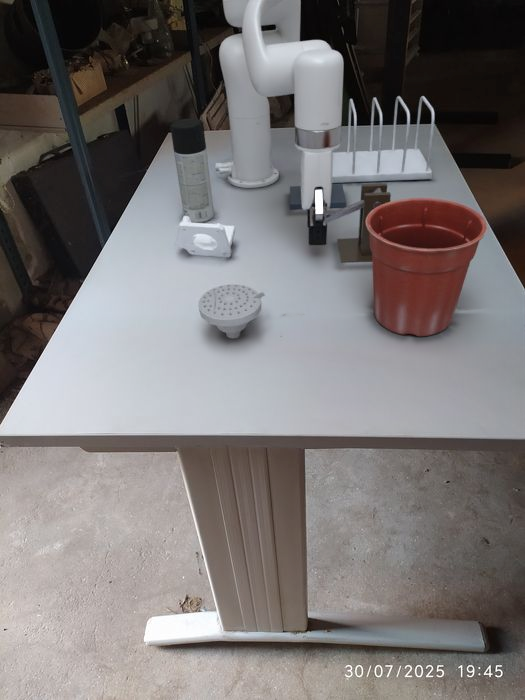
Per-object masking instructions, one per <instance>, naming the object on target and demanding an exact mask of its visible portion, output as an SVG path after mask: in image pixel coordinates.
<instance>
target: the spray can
mask: <svg viewBox="0 0 525 700" xmlns="http://www.w3.org/2000/svg"><path fill="white" fill-rule="evenodd" d="M169 127H170V134H171V139H172V148H173V155H174V160H175V167H176V173H177V174H176V175H177V180H178V187H179V193H180V199H181V206H182V213H183V217H184V216H188V217H189V218H190V220H191V223H207V222H208V221H211V220H212V219H213V218H214V215H215V210H214V209H215V208H214V201H213V193H212V184H211V175H210V168H209V159H208V150H207V143H206V134H205V127H204V122H203V120H202V119H199V118H181V119H179V120H176V121H174V122H173V123H171V124H170V126H169Z"/></svg>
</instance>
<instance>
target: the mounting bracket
mask: <svg viewBox="0 0 525 700" xmlns="http://www.w3.org/2000/svg"><path fill="white" fill-rule="evenodd" d="M236 231H237V230H236V226H235V225H225V224H223V223H220V222H217V223H207V222H203V223H191V220H190V218H189V217H188V216H184V215H183V217H182V220H181V221H180V222H179V223H178V224H177V228H176V235H175V243H174V244H175V247H177V248H179V249H184V250H186V251H187V253H188V254H190V255H191V256H199V257H201V256H202V257H213V258H214V257H215V258H226V259H227V258H230V257H231V256H232V254H233V253H232V252H233V251H232V248H231V246H232V244H233V242H234V238H235V233H236Z"/></svg>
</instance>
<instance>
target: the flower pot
mask: <svg viewBox="0 0 525 700" xmlns="http://www.w3.org/2000/svg"><path fill="white" fill-rule="evenodd" d="M366 227H367V230H368V231H369V235H370V249H371V251H372V262H371V263H372V290H373V291H372V292H373V314H374V318H375V319H376V321H377V322H378V323H379V324H380V325H381V326H382V327H383V328H385V329H386V330H388V331H391V332H392V333H395V334H398V335H402V336H404V335H408V334H409V335H410V334H411V335H413V336H416V337H427V336H433V335H436V334H438V333H442V332H443V331H444V330H446V329H447V328H448V327H449V326H450V325H451V323H452V322H453V318H454V315H455V312H456V309H457V306H458V303H459V299H460V296H461V293H462V289H463V286H464V283H465V281H466V277H467V273H468V270H469V268H470V265H471V261H472V260H473V259H474V257H475V255H476V253H477V249H478V246H479V244H480V241H481V240H482V239H483V238H484V237H485V235H486V233H487V230H488V224H487V221H486V220H485V218H484V217H483V216H482V215H481V214H480V213H479V212H477V211H476V210H474V209H472V208H471V207H469V206H467V205H464V204H461V203H459V202H455V201H450V200H446V199H440V198H431V197H411V198H410V197H409V198H402V199H396V200H391V201H390V202H388V203H385V204H382V205H380V206H378V207H376V208H375V209H373V210H372V211H371V212H370V213H369V214H368V216H367V217H366Z"/></svg>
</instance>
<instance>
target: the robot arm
mask: <svg viewBox="0 0 525 700" xmlns="http://www.w3.org/2000/svg"><path fill="white" fill-rule="evenodd" d="M222 4H223V5H222V6H223V13H224V17H225V20H226V22H227V23H228V24H229V25H230V26H232V27H236V28H241V33H236V34H233V35H230V36H228V37H226V38H224V39H223V41H221V44H220V46H219V50H218V58H219V59H218V60H219V64H220V69H221V72H222V77H223V82H224V87H225V93H226V102H227V111H228V112H227V113H228V120H229V121H228V122H229V132H230V133H229V134H230V144H231V155H232V157H231V161H228V162H215V165H214V167H215V172H219V174H220V175H221V174H222V175H223V174H228V175H227V181H228V183H229V184H230V185H232V186H234V187H237V188H242V189H258V188H263V187H267V186H270V185H272V184H274V183H276V182H277V181H278V180H279V177H280V175H279V174H280V173H279V171H278V169H276V168H274V167H273V157H272V155H273V154H272V153H273V152H272V134H271V133H272V132H271V131H272V129H271V111H270V102H269V99H268V98H270V97H280V96H287V95H293V94H294V97H293V98H294V146H295V148H296V149H297V150H299V151H300V186H301V203H302V208H303V209H302V210H303V211H306V210H307V211H306V212H307V213H306V214H307V215H306V216H307V219H306V221H307V222H306V223H307V225H306V226H307V228H308V246H326V245H327V243H328V223H326V215H327V210H329V209H330V208H329V207H330V203H331V191H332V185H333V183H332V174H333V152H334V150H337V149H339V148H340V147H341V145H342V144H341V143H342V121H343V120H342V118H343V116H342V115H343V93H344V58H343V55H342V53H340V52H339V51H338V50H335V49H332V47H331V45H330V44H329V43H327V41H325V40H322V39H311V40H310V39H309V40H302V41H301V4H302V2H301V0H222ZM272 25H275V29H272V30H271V29H270V30H262V26H272ZM323 204H324V207H323ZM313 213H315V215H314V216H313Z"/></svg>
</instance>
